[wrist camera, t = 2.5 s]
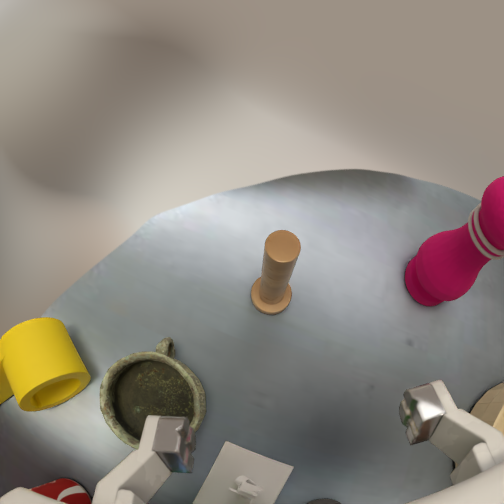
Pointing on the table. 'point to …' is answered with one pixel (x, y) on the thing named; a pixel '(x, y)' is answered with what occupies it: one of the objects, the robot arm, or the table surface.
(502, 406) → the bowl
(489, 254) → the pepper mill
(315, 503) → the bottle
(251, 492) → the adhesive hook
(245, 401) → the table surface
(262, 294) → the muddler
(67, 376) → the crank
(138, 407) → the vessel
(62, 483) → the soda can
